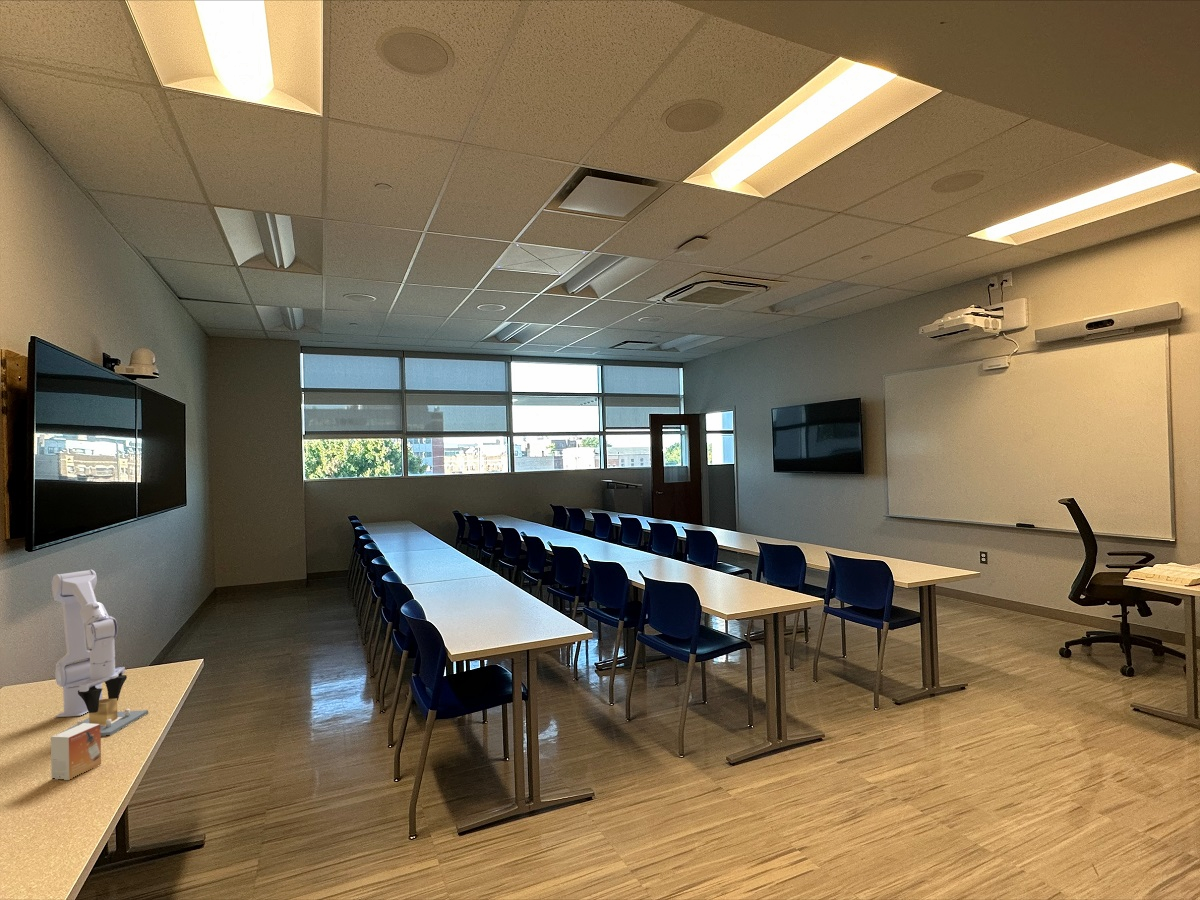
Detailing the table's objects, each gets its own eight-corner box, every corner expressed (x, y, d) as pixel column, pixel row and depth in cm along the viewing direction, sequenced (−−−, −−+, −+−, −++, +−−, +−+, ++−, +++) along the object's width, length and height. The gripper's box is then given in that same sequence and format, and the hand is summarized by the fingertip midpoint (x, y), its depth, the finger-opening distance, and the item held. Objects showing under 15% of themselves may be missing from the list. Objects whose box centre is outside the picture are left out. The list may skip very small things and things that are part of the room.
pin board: (98, 716, 184) (98, 706, 184) (148, 713, 185) (148, 703, 185) (56, 738, 169) (55, 728, 169) (110, 735, 170) (110, 725, 170)
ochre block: (100, 719, 179) (99, 699, 179) (117, 718, 179) (117, 698, 179) (89, 725, 175) (89, 704, 175) (107, 724, 175) (106, 703, 175)
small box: (68, 781, 145) (67, 737, 145) (50, 779, 146) (49, 736, 146) (102, 764, 153) (101, 723, 153) (84, 763, 154) (83, 722, 154)
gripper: (96, 668, 170) (97, 716, 170) (134, 652, 185) (135, 696, 184) (71, 670, 170) (72, 717, 170) (111, 653, 184) (112, 697, 184)
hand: (103, 706), depth 177 cm, fingers open, 7 cm apart
